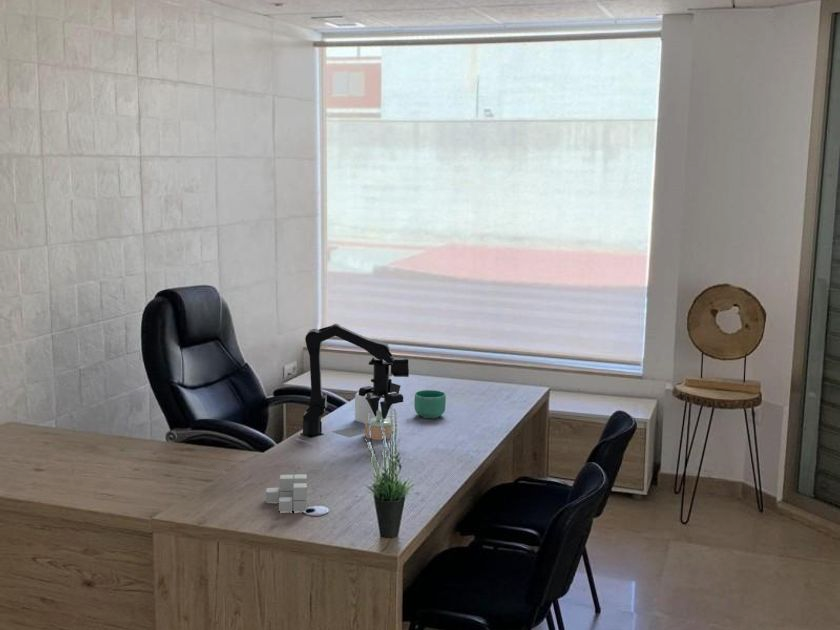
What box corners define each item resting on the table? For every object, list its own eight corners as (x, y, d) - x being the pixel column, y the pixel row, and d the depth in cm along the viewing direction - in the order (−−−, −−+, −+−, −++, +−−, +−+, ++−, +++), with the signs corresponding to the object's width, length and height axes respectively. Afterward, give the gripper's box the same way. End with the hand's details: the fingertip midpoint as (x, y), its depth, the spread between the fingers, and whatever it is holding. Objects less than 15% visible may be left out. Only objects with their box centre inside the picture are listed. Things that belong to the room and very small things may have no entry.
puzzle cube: (266, 500, 284) (266, 474, 283) (306, 499, 285) (306, 474, 284) (264, 514, 272) (264, 488, 271) (306, 513, 274) (306, 487, 272)
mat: (349, 438, 351) (349, 437, 351) (331, 432, 357) (331, 431, 357) (369, 433, 358) (369, 432, 358) (351, 427, 365) (351, 426, 365)
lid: (379, 428, 346) (380, 415, 345) (361, 423, 353) (361, 410, 352) (399, 423, 353) (399, 411, 352) (380, 418, 360) (381, 406, 359)
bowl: (379, 442, 346) (379, 429, 345) (359, 436, 353) (359, 423, 353) (401, 436, 354) (401, 423, 353) (380, 430, 361) (380, 418, 360)
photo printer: (353, 420, 375) (353, 390, 373) (362, 419, 378) (362, 388, 376) (368, 426, 367) (369, 395, 365) (377, 424, 370) (378, 393, 368)
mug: (440, 421, 376) (440, 398, 375) (410, 418, 380) (410, 395, 379) (451, 411, 392) (451, 389, 391) (422, 409, 396) (422, 386, 394)
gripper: (414, 377, 349) (413, 418, 352) (379, 369, 362) (378, 409, 365) (392, 381, 342) (391, 424, 344) (357, 373, 354) (357, 413, 357)
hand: (380, 417), depth 352 cm, fingers open, 4 cm apart
